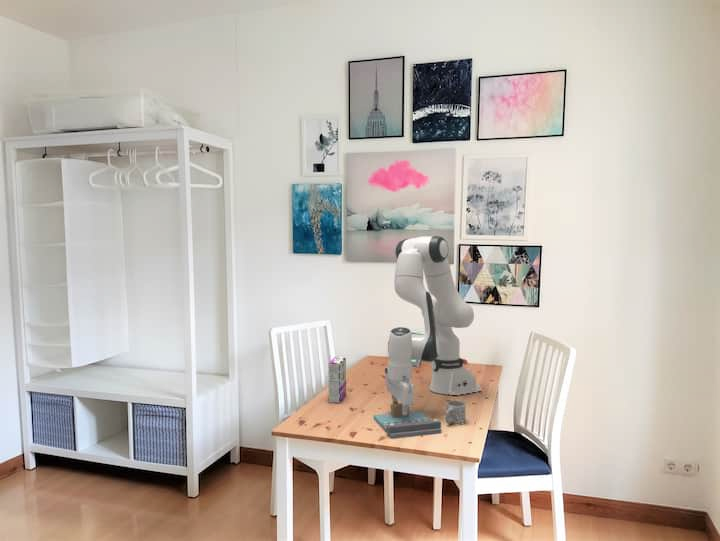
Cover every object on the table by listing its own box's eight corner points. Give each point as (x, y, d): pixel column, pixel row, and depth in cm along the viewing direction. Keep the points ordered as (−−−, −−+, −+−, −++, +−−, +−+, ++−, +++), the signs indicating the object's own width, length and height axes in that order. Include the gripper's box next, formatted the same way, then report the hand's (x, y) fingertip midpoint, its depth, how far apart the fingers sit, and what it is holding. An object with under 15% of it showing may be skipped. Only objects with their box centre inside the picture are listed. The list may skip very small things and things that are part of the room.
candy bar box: (334, 394, 224) (334, 356, 223) (346, 395, 223) (346, 356, 222) (327, 403, 213) (328, 362, 212) (340, 403, 212) (340, 363, 211)
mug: (452, 416, 198) (452, 399, 198) (468, 421, 194) (468, 403, 194) (438, 424, 191) (438, 406, 190) (454, 428, 186) (454, 410, 186)
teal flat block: (419, 413, 201) (419, 400, 200) (429, 422, 192) (429, 408, 192) (373, 418, 196) (373, 404, 195) (381, 427, 187) (381, 412, 187)
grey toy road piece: (430, 422, 192) (430, 412, 192) (442, 432, 182) (442, 421, 182) (380, 427, 187) (380, 417, 186) (389, 438, 177) (390, 427, 177)
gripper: (419, 380, 185) (418, 419, 186) (398, 365, 205) (398, 401, 206) (402, 381, 183) (401, 420, 184) (383, 366, 203) (382, 402, 204)
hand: (399, 410), depth 195 cm, fingers open, 8 cm apart
